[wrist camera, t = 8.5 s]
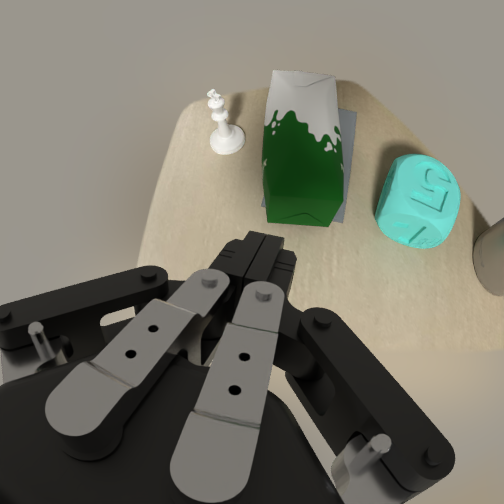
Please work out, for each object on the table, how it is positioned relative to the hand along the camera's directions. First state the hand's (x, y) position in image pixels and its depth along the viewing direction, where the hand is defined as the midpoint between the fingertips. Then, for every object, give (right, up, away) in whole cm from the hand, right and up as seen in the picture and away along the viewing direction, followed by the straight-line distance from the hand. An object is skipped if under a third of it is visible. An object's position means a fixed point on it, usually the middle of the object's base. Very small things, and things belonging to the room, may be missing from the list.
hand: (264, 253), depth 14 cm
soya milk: (+5, +4, +19) cm, 20 cm away
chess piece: (-4, +15, +28) cm, 32 cm away
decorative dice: (+19, +5, +22) cm, 30 cm away
